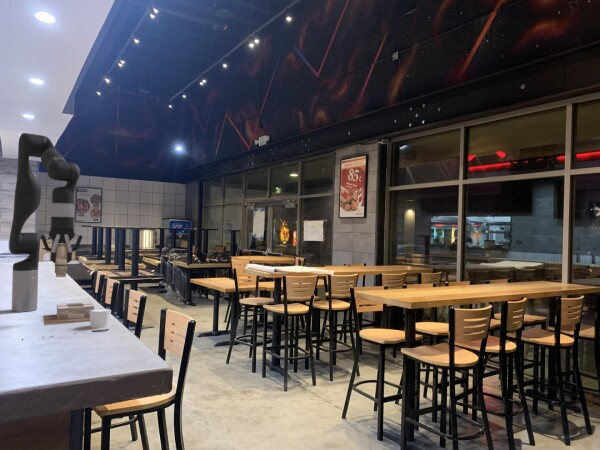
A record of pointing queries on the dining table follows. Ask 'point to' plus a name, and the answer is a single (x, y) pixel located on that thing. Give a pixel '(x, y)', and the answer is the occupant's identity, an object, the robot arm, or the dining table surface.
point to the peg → (61, 260)
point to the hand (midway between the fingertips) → (61, 262)
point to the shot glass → (100, 319)
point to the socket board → (54, 320)
